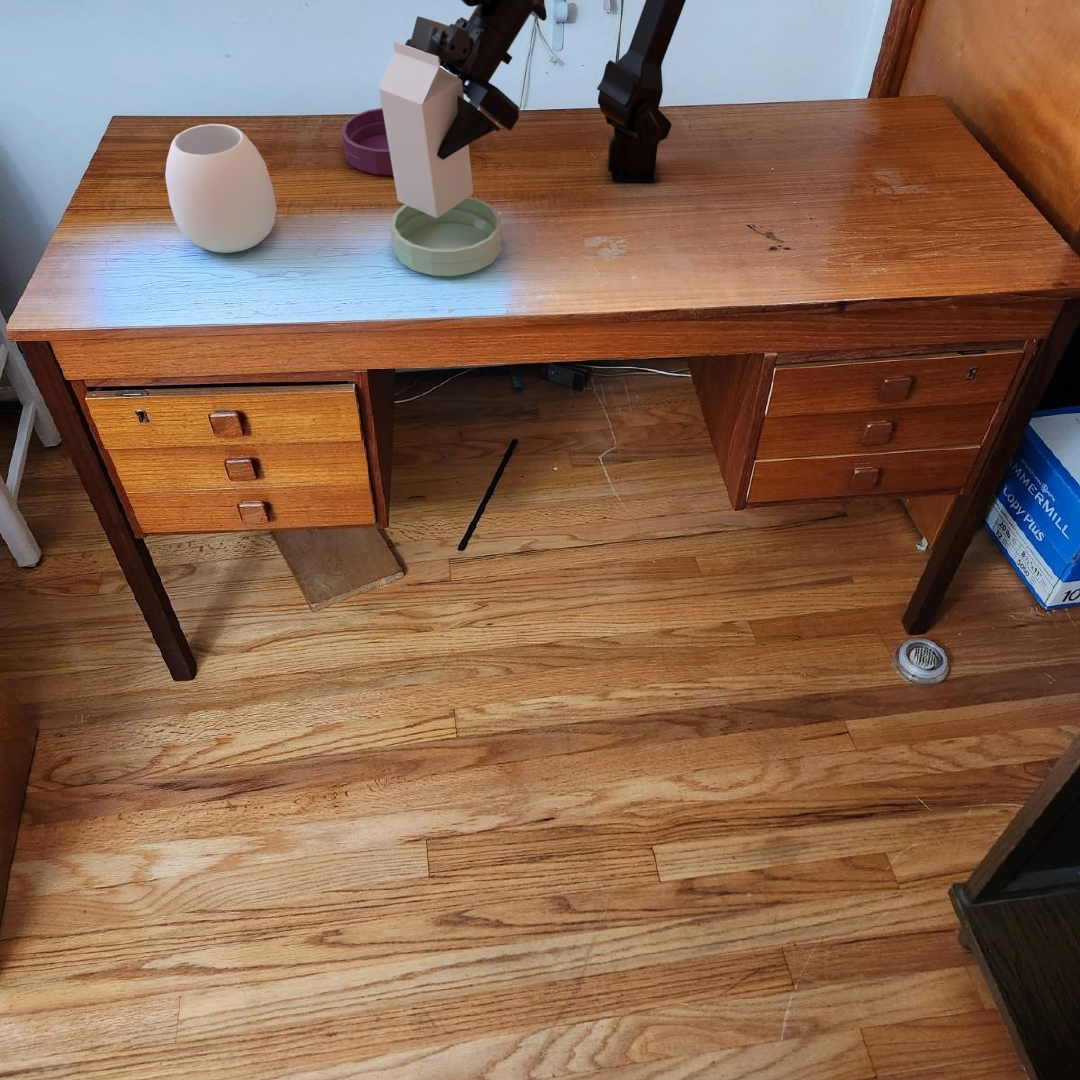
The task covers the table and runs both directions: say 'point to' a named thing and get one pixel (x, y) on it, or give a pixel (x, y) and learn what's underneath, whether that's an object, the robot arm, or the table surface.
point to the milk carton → (423, 131)
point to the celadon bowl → (447, 238)
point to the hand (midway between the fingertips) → (421, 144)
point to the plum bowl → (367, 142)
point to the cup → (219, 188)
